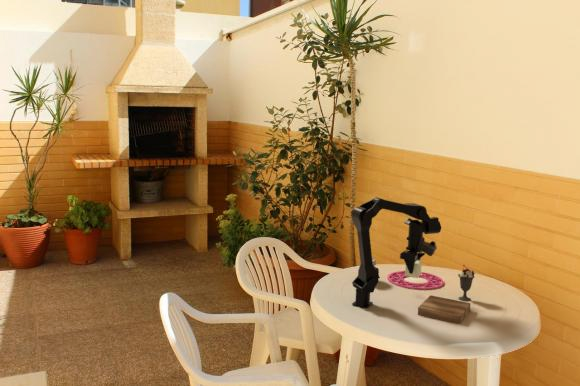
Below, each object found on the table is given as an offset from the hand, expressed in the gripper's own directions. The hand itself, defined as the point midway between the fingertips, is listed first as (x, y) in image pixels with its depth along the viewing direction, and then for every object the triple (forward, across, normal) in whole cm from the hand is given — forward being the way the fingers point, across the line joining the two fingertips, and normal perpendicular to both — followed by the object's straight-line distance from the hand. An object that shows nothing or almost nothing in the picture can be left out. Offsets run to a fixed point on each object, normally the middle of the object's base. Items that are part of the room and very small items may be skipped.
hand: (413, 271), depth 233 cm
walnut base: (+12, -8, -16) cm, 21 cm away
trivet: (+12, +24, +6) cm, 28 cm away
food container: (+12, +12, +24) cm, 30 cm away
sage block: (+2, 0, 0) cm, 2 cm away
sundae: (+12, +12, -19) cm, 25 cm away
